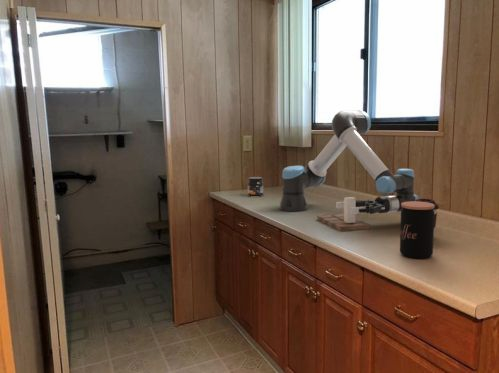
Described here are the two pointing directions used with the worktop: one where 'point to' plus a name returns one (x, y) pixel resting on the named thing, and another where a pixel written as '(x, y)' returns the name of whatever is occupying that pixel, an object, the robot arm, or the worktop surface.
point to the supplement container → (255, 186)
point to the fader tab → (349, 209)
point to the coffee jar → (417, 229)
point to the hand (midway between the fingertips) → (343, 207)
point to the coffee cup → (433, 209)
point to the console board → (342, 222)
